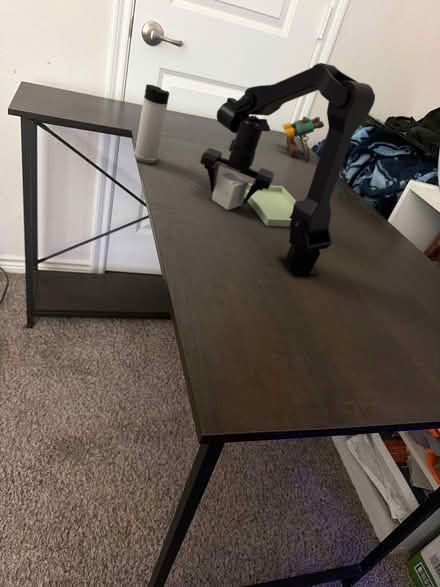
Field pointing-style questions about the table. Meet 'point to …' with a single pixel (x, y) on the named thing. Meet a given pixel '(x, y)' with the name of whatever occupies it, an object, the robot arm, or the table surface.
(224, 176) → the product carton
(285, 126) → the binoculars
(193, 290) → the table surface
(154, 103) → the travel mug
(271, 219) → the tray
